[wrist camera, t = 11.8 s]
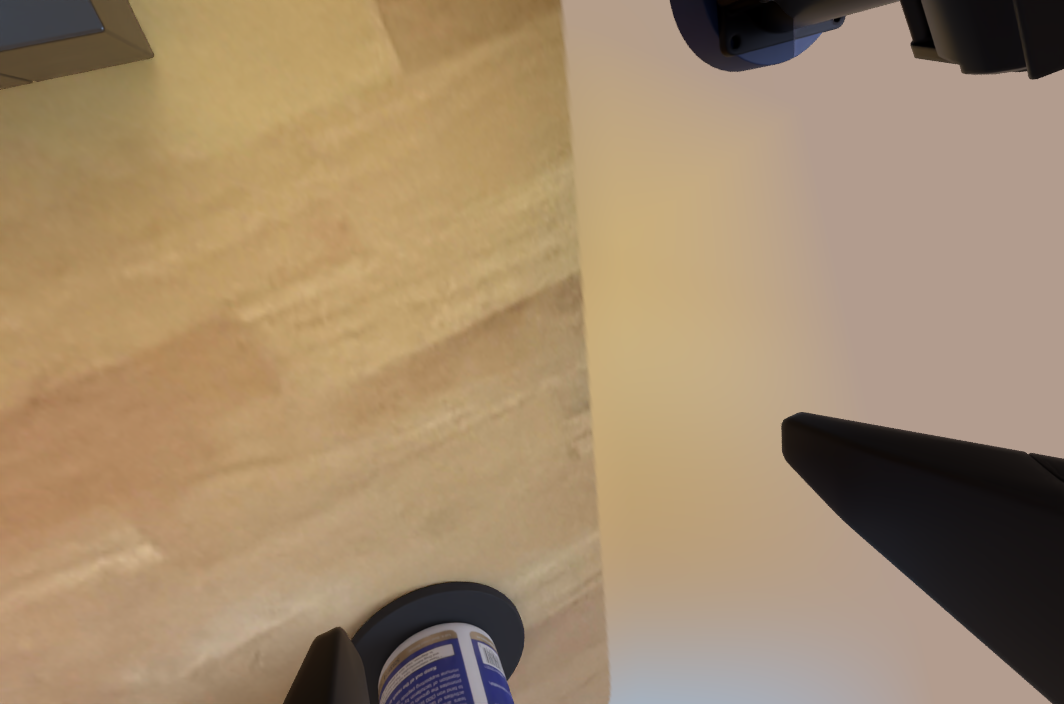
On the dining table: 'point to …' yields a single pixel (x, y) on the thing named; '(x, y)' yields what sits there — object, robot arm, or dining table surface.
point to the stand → (66, 38)
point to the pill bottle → (445, 669)
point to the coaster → (434, 609)
